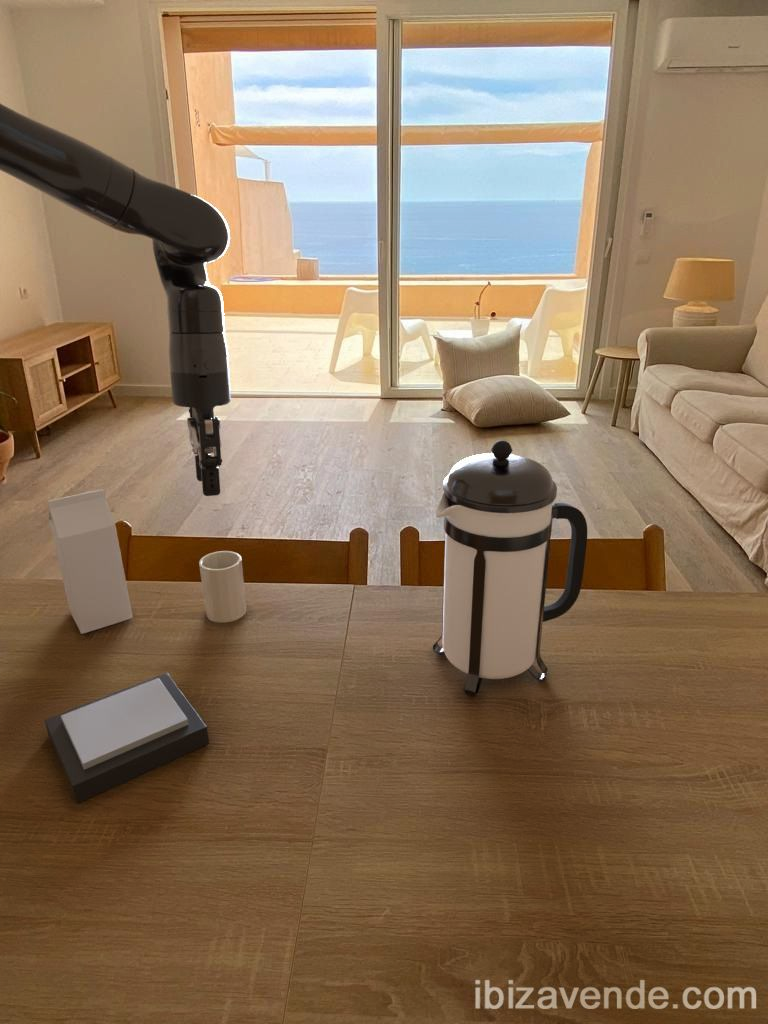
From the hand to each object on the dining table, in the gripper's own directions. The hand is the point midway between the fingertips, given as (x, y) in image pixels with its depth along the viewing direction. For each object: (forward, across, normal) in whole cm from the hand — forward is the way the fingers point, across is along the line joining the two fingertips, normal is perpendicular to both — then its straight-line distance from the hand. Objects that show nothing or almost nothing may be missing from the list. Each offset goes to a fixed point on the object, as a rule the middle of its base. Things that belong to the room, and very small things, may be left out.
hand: (208, 487), depth 96 cm
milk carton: (+19, -5, -16) cm, 26 cm away
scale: (+22, +23, -13) cm, 35 cm away
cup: (+19, 0, +1) cm, 19 cm away
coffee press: (+20, +25, +32) cm, 45 cm away
